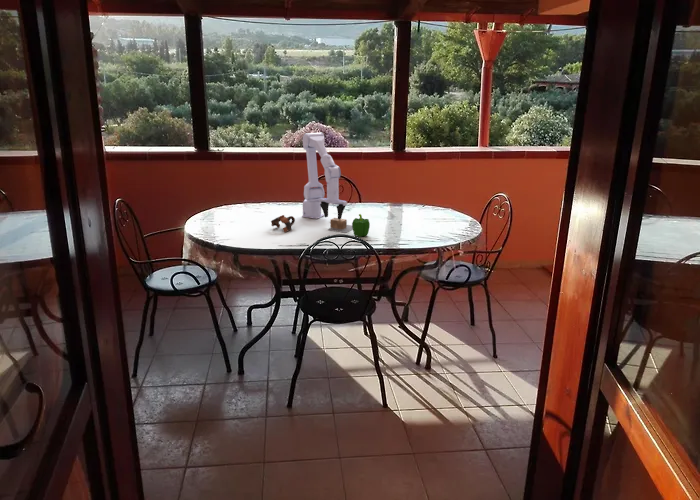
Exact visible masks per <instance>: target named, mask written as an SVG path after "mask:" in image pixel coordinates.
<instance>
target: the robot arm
mask: <svg viewBox="0 0 700 500" xmlns="http://www.w3.org/2000/svg"><path fill="white" fill-rule="evenodd" d="M325 141H326V140H325V134H324V133H323V132H321V131H319V132H306V133H304V134H303V135H302V147H303V148H302V149H303V150H305V153H306V154H305V155H306V165H307V176H308V181H307V183H306V184H305V185H304V186H303V197H304V200H303V202H302V216H301V217H303V218H310V219H316V220H318V219H320V218H322V217H324V218H327V217H329V205H330V204H331V205H336V210H337V218H338V219H342V216H343V214H344V213H343V212H344V210H345V208H346V206H347V205H348V202H347V201H346V200H342V199H339V197H340V196H339V195H340V191H339V187H340V185H339V184H340V183H339V179H340V178H341V175H342V172H341V171H342V170H341V168H340V166H339V165H337V164H336V162H335V161H334V159H333V156H331V154H329V153H328V151H327V148H326V146H325ZM317 153H318V154H319V156H320V163H321V165H322V167H323V169H324V176H325V182H326V193H325V189H324V185H323V184H322V183H321V182H320V181H319V176H318V175H319V173H318V162H317ZM325 194H326V197H325ZM322 212H323V214H322Z"/></svg>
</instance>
